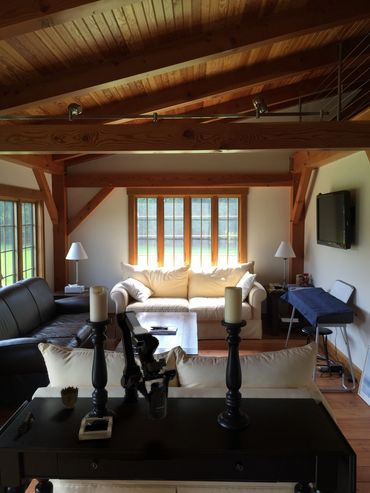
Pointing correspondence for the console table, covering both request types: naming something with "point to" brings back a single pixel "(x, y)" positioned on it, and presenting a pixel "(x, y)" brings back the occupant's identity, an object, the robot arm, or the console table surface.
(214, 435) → the console table surface
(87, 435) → the collar
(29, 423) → the lighter
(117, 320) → the robot arm
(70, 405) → the potted succulent
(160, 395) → the supplement bottle
